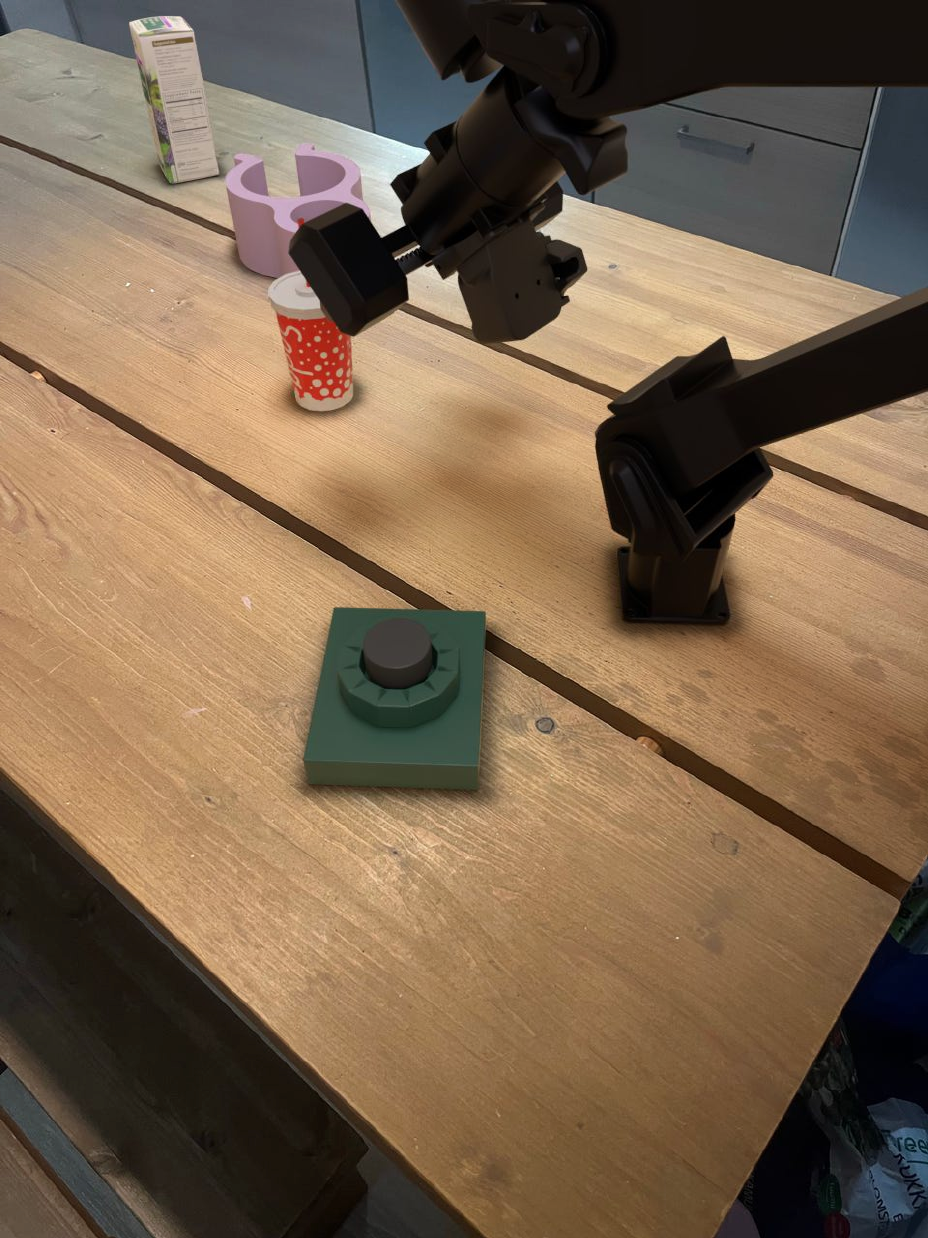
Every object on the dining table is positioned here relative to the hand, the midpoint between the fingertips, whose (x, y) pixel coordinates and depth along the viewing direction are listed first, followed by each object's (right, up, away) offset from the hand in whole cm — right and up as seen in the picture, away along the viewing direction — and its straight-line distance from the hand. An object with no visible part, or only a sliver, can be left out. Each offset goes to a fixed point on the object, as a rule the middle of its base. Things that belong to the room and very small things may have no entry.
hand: (376, 286), depth 64 cm
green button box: (+2, -27, -10) cm, 29 cm away
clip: (-9, +12, +28) cm, 32 cm away
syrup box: (-25, +28, +43) cm, 57 cm away
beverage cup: (-5, -5, +12) cm, 14 cm away
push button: (+2, -25, -13) cm, 28 cm away
